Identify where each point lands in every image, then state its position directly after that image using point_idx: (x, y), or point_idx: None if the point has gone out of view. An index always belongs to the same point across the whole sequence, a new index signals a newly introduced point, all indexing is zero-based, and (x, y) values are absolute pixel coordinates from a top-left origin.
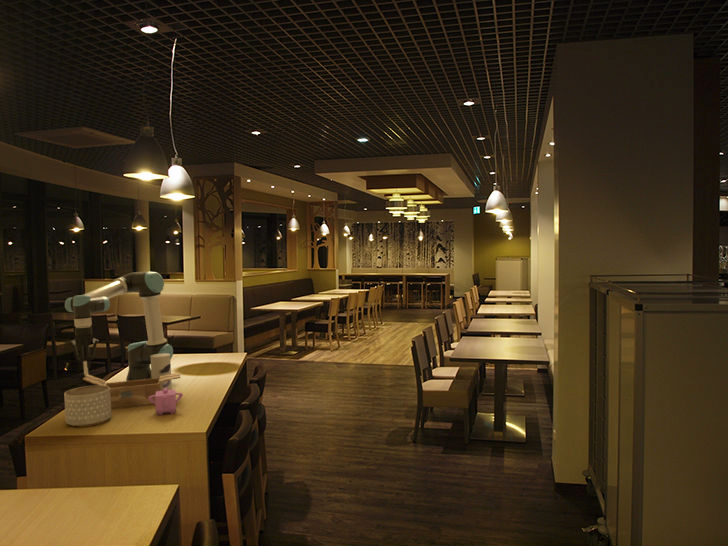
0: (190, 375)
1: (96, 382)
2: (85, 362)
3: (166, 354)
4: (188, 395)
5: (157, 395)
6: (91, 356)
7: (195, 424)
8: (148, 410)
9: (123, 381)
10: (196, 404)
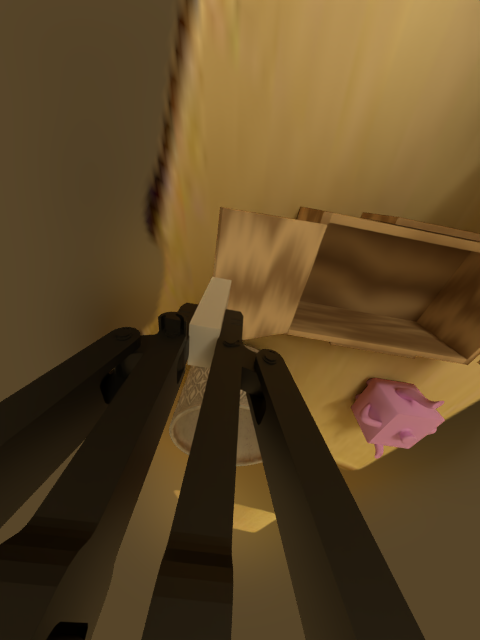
0: None
1: (265, 319)
2: (205, 363)
3: None
4: None
5: (376, 440)
6: (256, 412)
7: (370, 452)
8: (357, 362)
9: (407, 229)
10: (461, 375)
